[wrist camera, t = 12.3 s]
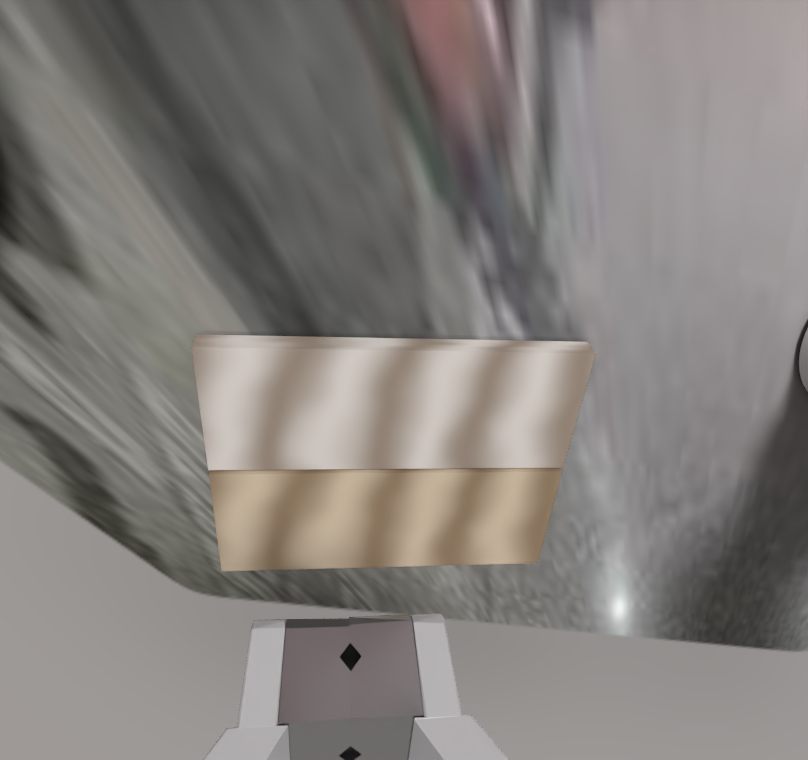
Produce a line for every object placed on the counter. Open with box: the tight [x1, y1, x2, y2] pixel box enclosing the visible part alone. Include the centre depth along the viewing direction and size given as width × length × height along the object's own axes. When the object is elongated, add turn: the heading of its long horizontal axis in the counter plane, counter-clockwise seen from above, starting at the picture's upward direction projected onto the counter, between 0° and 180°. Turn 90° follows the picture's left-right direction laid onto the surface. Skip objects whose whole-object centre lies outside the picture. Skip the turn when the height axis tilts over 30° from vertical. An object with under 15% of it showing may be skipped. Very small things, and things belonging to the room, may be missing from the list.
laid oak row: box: [209, 468, 562, 571], centre depth 47 cm, size 26×10×2 cm, turn 86°
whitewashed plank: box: [191, 335, 596, 470], centre depth 41 cm, size 26×10×2 cm, turn 86°
